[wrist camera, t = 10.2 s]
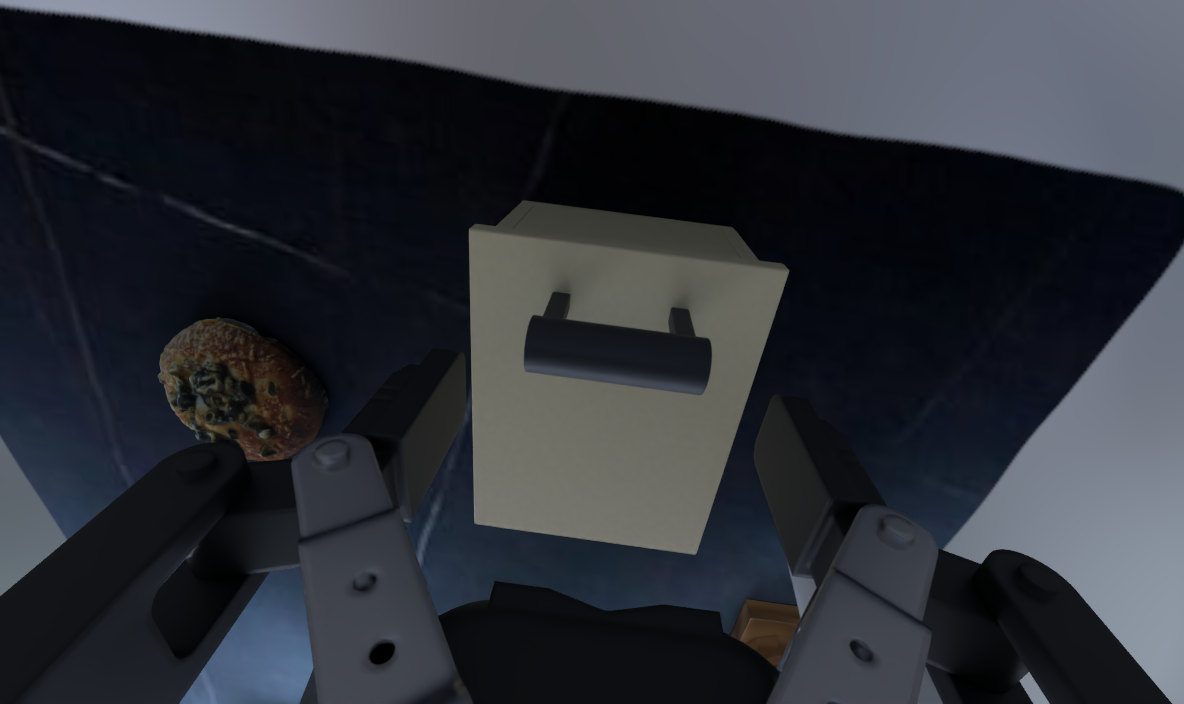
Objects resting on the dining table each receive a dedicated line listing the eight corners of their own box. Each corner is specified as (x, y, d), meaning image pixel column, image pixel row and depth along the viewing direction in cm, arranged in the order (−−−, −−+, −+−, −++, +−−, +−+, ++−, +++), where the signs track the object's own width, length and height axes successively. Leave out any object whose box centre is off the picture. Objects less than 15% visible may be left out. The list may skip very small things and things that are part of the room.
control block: (746, 598, 40) (755, 640, 37) (827, 610, 40) (843, 652, 37) (718, 662, 45) (724, 703, 42) (790, 672, 45) (802, 714, 42)
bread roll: (359, 434, 34) (309, 482, 30) (253, 447, 38) (195, 491, 33) (275, 295, 30) (202, 328, 25) (164, 324, 33) (83, 358, 29)
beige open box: (522, 199, 26) (475, 243, 18) (733, 227, 25) (777, 283, 18) (515, 413, 33) (478, 511, 25) (679, 436, 32) (694, 541, 25)
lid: (474, 223, 17) (415, 269, 13) (784, 263, 17) (841, 325, 12) (478, 512, 25) (442, 609, 20) (694, 542, 25) (709, 647, 20)
